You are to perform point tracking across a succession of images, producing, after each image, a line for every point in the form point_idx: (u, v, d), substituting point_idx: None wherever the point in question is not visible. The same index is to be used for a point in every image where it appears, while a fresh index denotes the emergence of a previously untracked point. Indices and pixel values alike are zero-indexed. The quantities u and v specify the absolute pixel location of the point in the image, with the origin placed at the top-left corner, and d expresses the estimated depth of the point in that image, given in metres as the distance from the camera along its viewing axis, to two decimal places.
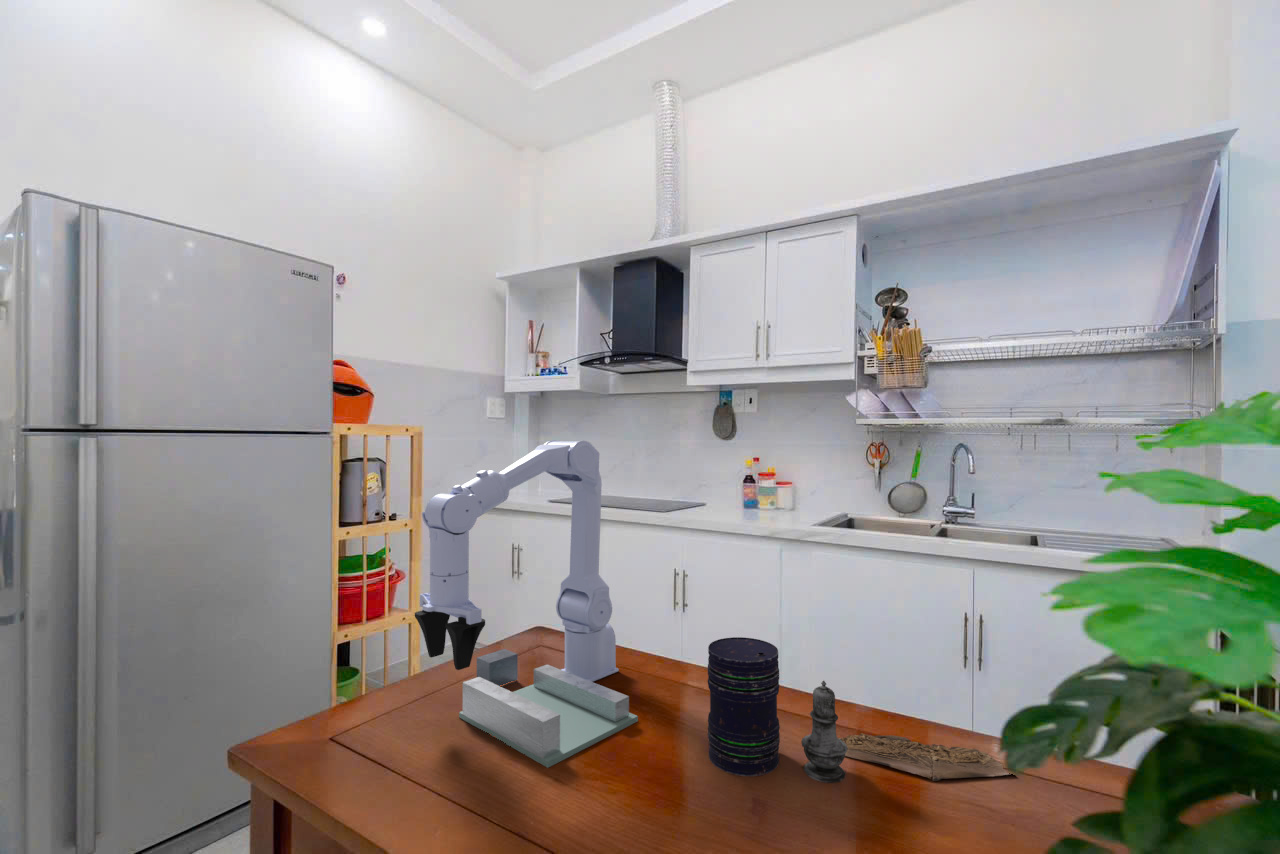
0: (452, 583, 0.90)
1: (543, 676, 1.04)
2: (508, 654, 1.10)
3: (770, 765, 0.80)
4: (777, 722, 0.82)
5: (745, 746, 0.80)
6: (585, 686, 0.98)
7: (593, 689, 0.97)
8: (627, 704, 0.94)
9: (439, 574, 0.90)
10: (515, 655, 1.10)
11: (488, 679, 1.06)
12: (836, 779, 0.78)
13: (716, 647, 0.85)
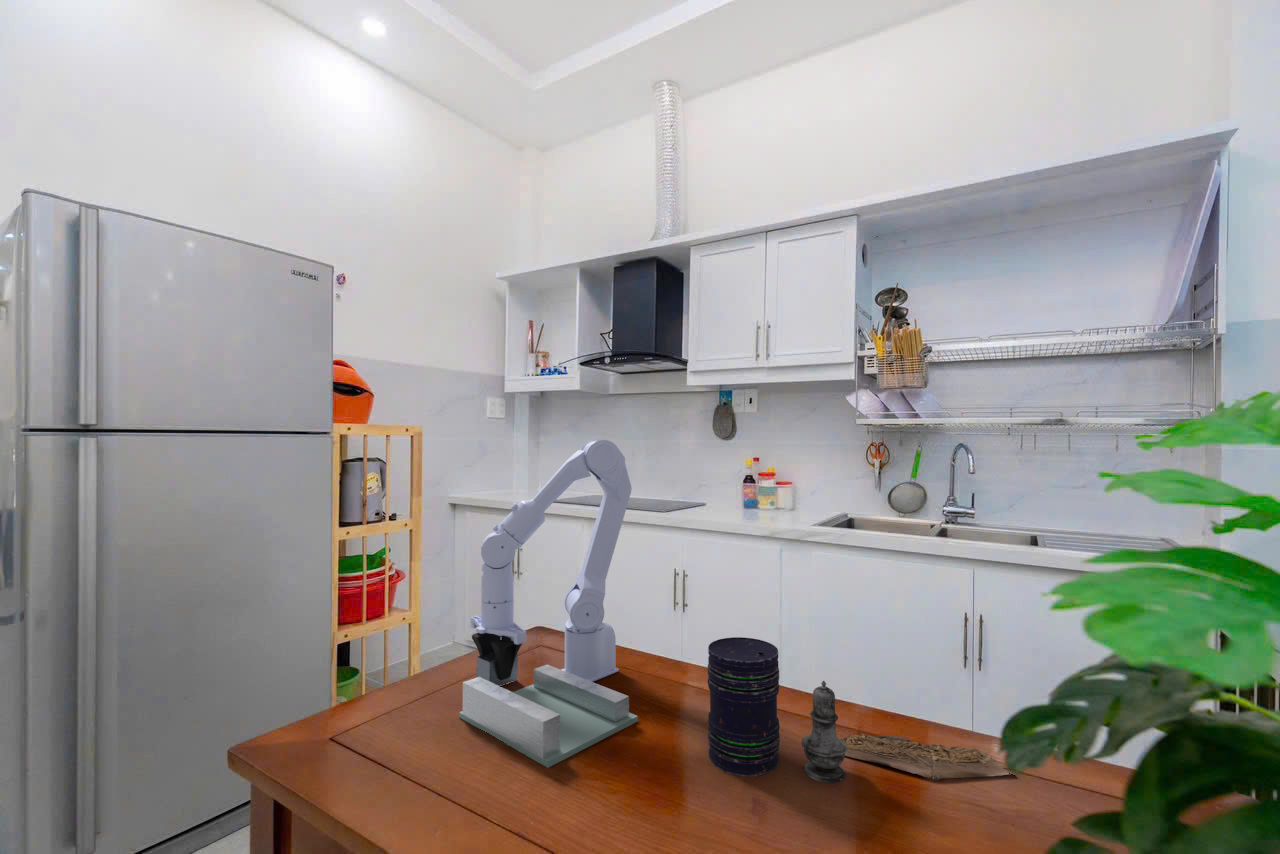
0: (501, 609, 1.07)
1: (543, 676, 1.04)
2: None
3: (770, 765, 0.80)
4: (777, 722, 0.82)
5: (745, 746, 0.80)
6: (585, 686, 0.98)
7: (593, 689, 0.97)
8: (627, 704, 0.94)
9: (483, 600, 1.08)
10: None
11: (488, 678, 1.06)
12: (836, 779, 0.78)
13: (716, 647, 0.85)
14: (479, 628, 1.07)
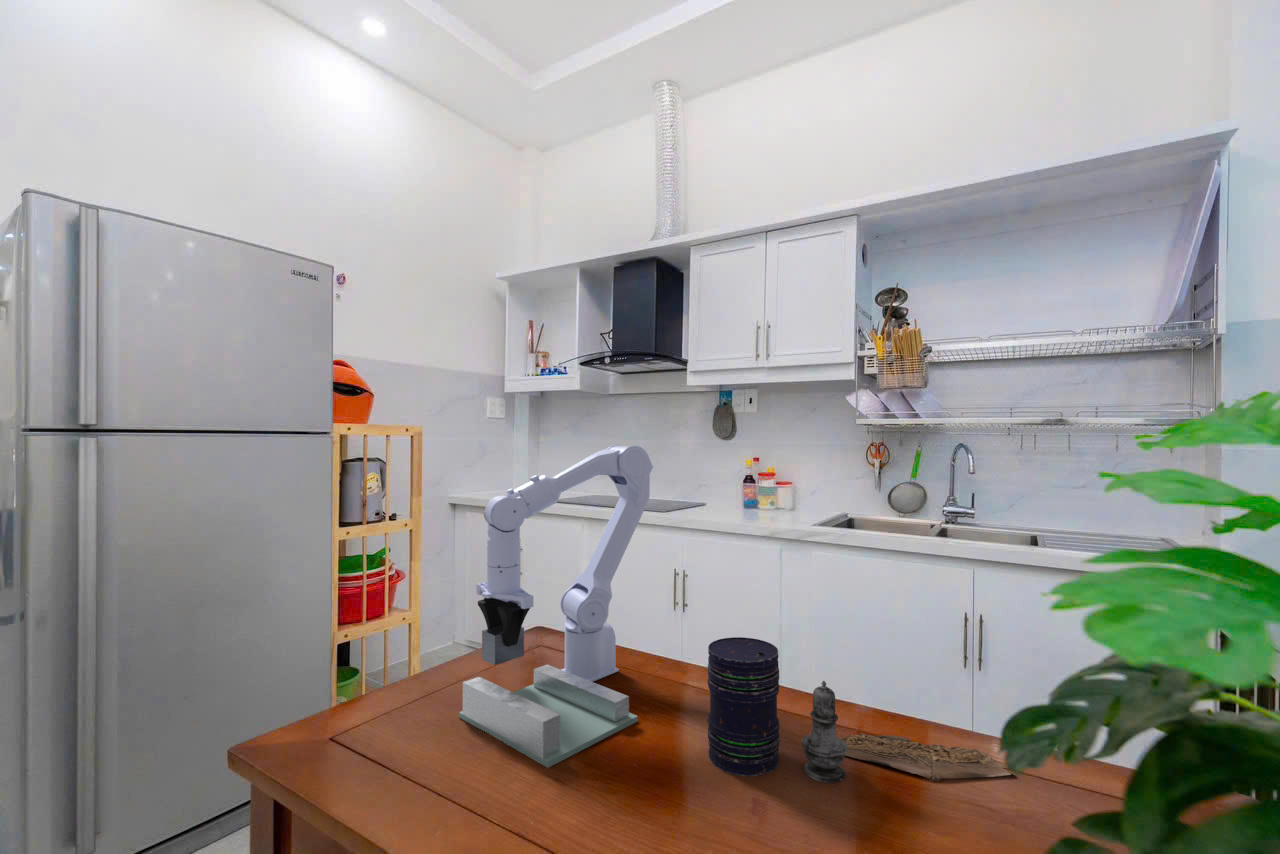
0: (507, 573, 1.04)
1: (543, 676, 1.04)
2: None
3: (770, 765, 0.80)
4: (777, 722, 0.82)
5: (745, 746, 0.80)
6: (585, 686, 0.98)
7: (593, 689, 0.97)
8: (627, 704, 0.94)
9: (491, 565, 1.04)
10: (521, 629, 1.07)
11: (494, 652, 1.03)
12: (836, 779, 0.78)
13: (716, 647, 0.85)
14: (485, 593, 1.04)
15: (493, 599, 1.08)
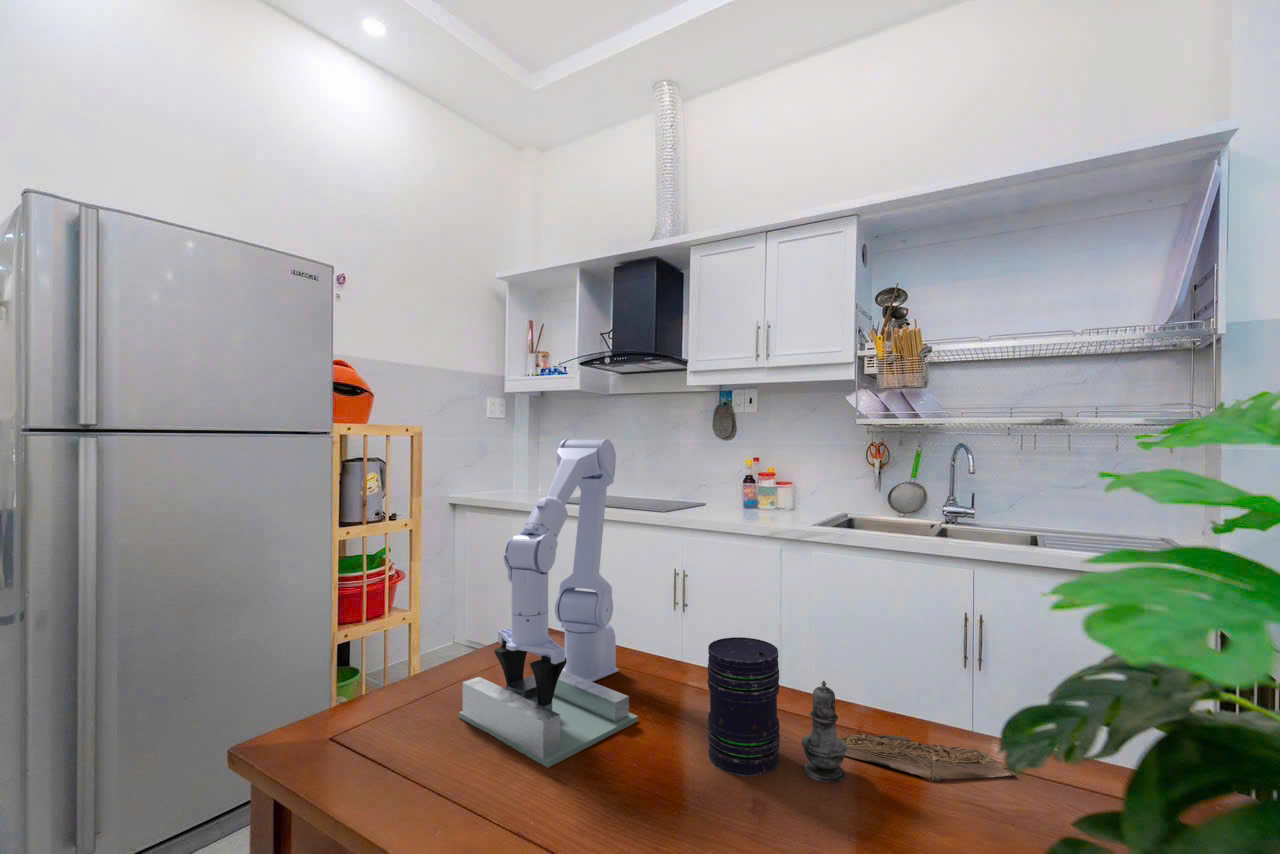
0: (535, 622, 0.93)
1: None
2: None
3: (770, 765, 0.80)
4: (777, 722, 0.82)
5: (745, 746, 0.80)
6: (585, 686, 0.98)
7: (593, 689, 0.97)
8: (627, 704, 0.94)
9: (529, 614, 0.93)
10: None
11: None
12: (836, 779, 0.78)
13: (716, 647, 0.85)
14: (510, 644, 0.93)
15: None
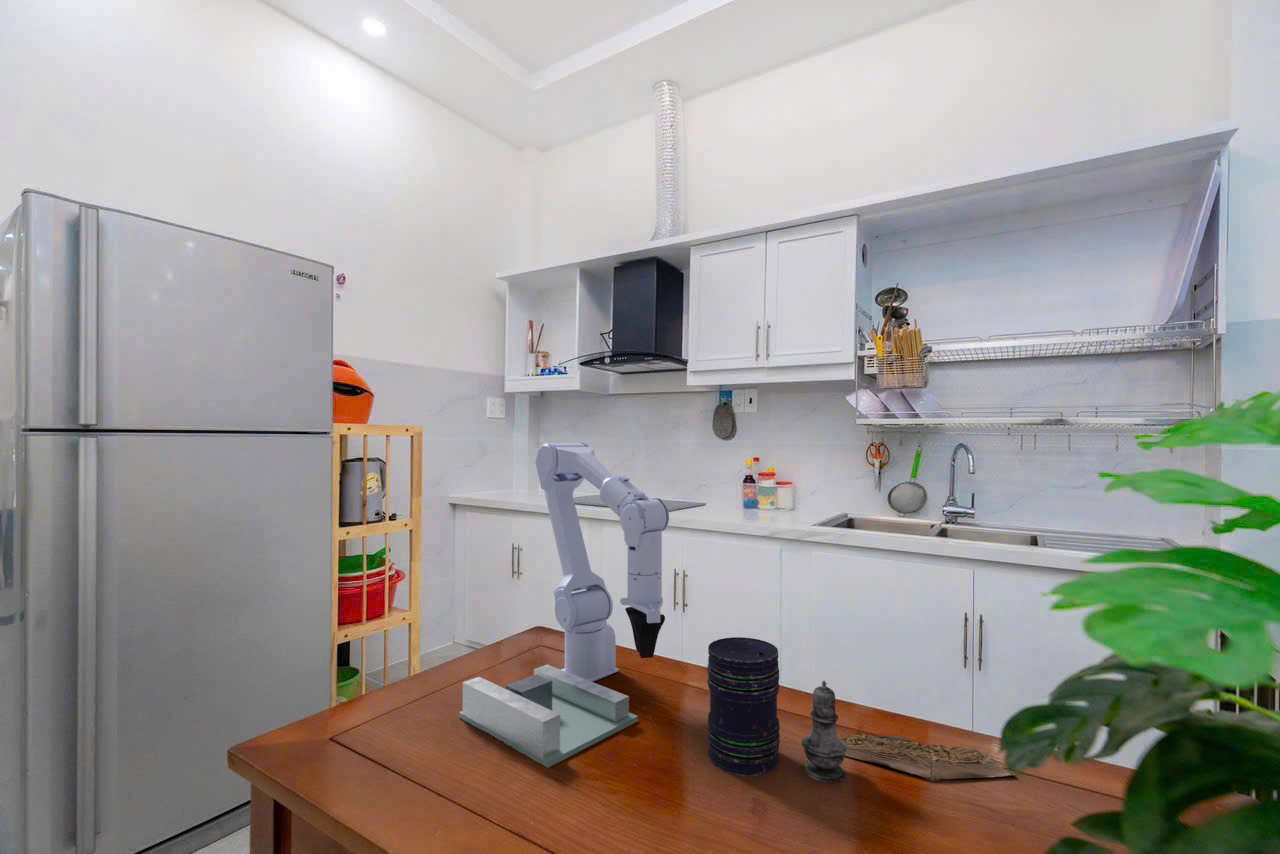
0: (641, 582, 0.98)
1: (543, 676, 1.04)
2: (542, 681, 0.96)
3: (770, 765, 0.80)
4: (777, 722, 0.82)
5: (745, 746, 0.80)
6: (585, 686, 0.98)
7: (593, 689, 0.97)
8: (627, 704, 0.94)
9: (661, 571, 1.00)
10: (550, 682, 0.96)
11: None
12: (836, 779, 0.78)
13: (716, 647, 0.85)
14: (622, 599, 1.00)
15: None
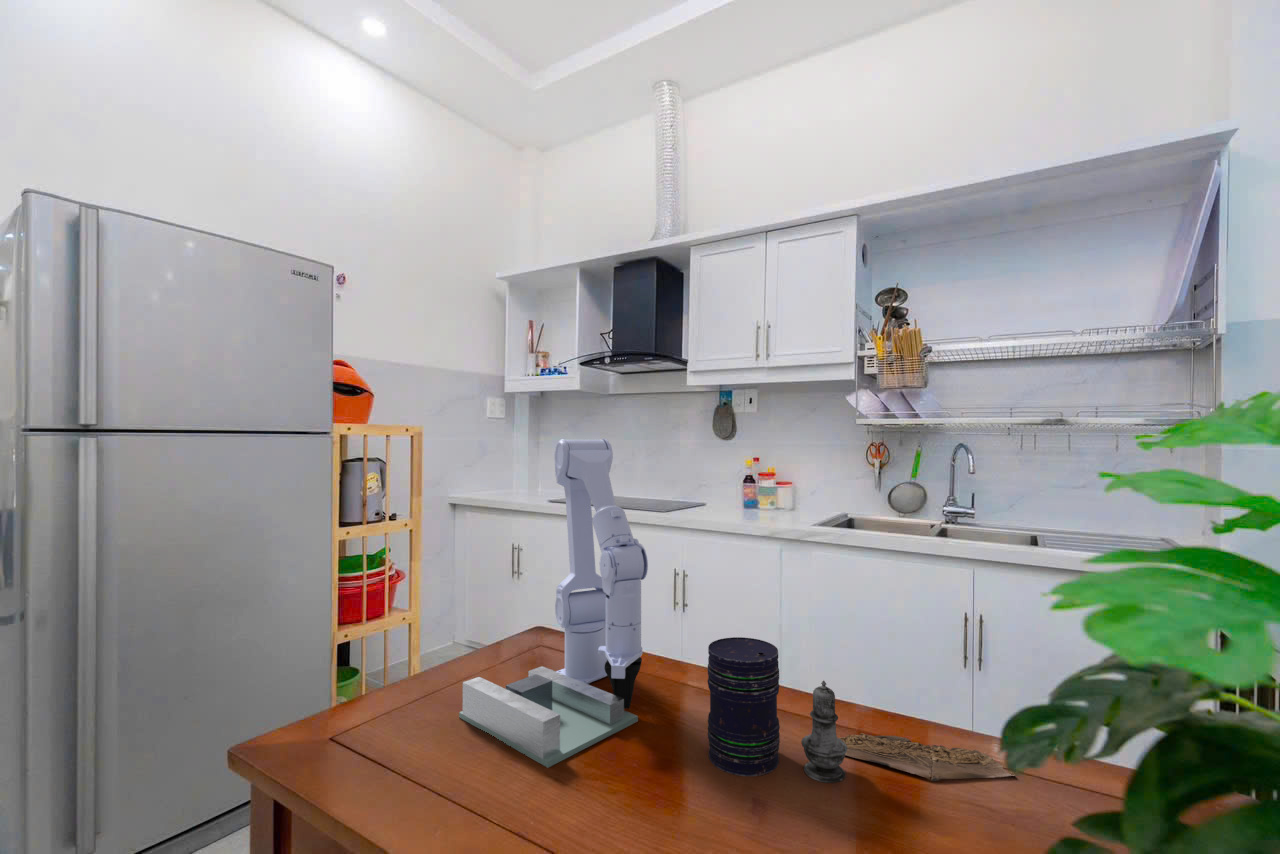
0: (615, 632, 0.94)
1: None
2: (542, 681, 0.96)
3: (770, 765, 0.80)
4: (777, 722, 0.82)
5: (745, 746, 0.80)
6: (580, 689, 0.97)
7: (588, 691, 0.96)
8: (622, 706, 0.93)
9: (637, 622, 0.95)
10: (550, 682, 0.96)
11: None
12: (836, 779, 0.78)
13: (716, 647, 0.85)
14: (600, 647, 0.97)
15: None
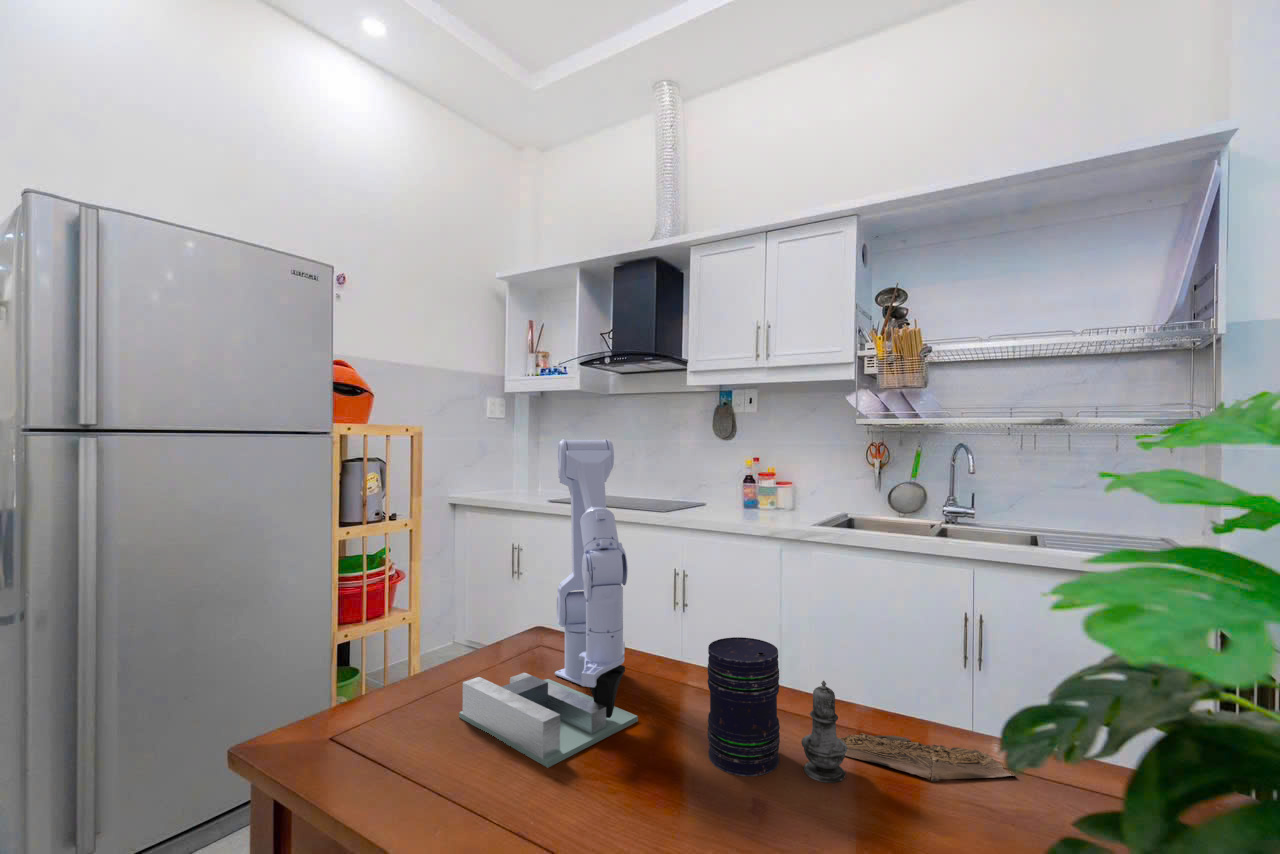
0: (592, 638, 0.91)
1: None
2: (538, 683, 0.95)
3: (770, 765, 0.80)
4: (777, 722, 0.82)
5: (745, 746, 0.80)
6: (561, 696, 0.94)
7: (569, 699, 0.93)
8: (604, 715, 0.91)
9: (616, 629, 0.91)
10: (545, 684, 0.95)
11: None
12: (836, 779, 0.78)
13: (716, 647, 0.85)
14: (582, 653, 0.95)
15: None
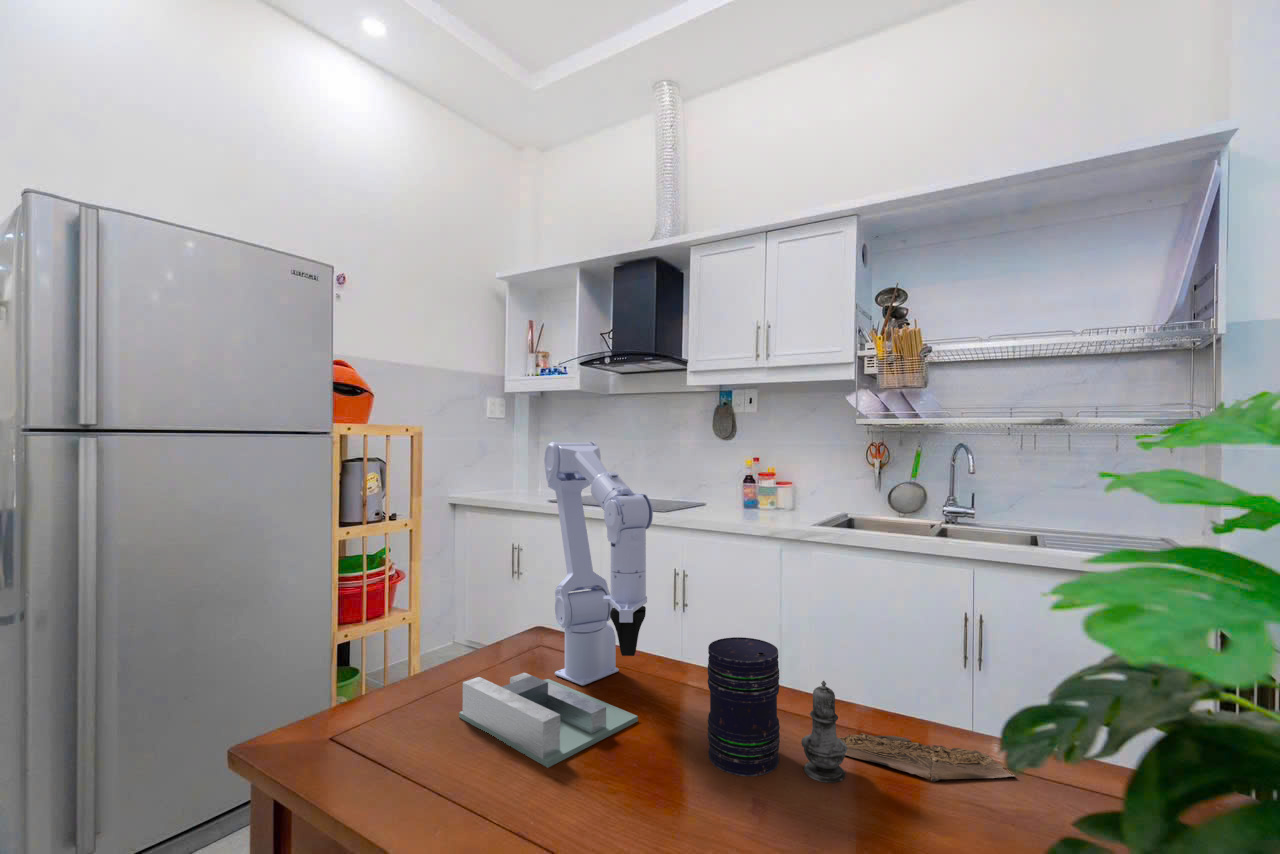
0: (621, 580, 0.95)
1: None
2: (538, 683, 0.95)
3: (770, 765, 0.80)
4: (777, 722, 0.82)
5: (745, 746, 0.80)
6: (561, 696, 0.94)
7: (570, 699, 0.93)
8: (604, 715, 0.91)
9: (643, 569, 0.96)
10: (545, 684, 0.95)
11: None
12: (836, 779, 0.78)
13: (716, 647, 0.85)
14: (605, 596, 0.98)
15: None
